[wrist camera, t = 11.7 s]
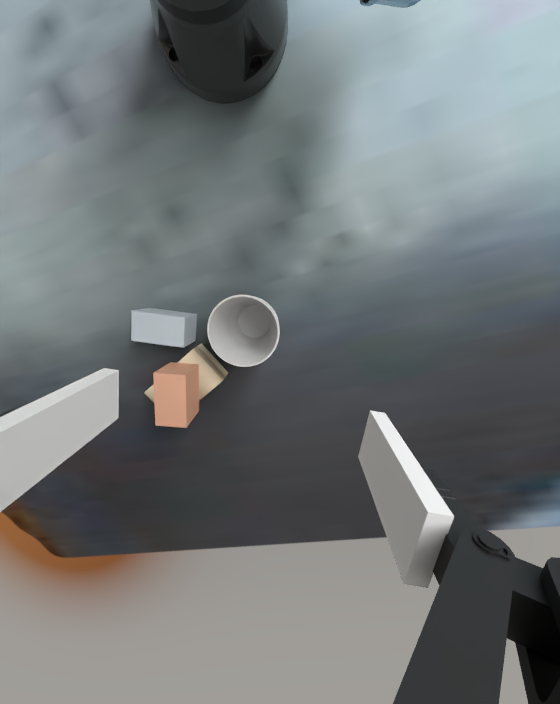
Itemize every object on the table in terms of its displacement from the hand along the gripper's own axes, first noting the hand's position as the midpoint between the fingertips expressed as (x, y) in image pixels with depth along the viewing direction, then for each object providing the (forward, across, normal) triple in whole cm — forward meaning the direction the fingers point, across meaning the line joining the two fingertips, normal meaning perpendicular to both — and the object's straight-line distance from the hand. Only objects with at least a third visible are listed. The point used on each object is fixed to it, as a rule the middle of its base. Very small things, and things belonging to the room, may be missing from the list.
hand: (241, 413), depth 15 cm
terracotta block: (+24, -11, -10) cm, 28 cm away
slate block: (+28, -15, -2) cm, 32 cm away
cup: (+28, -3, 0) cm, 28 cm away
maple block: (+28, -12, -10) cm, 32 cm away
